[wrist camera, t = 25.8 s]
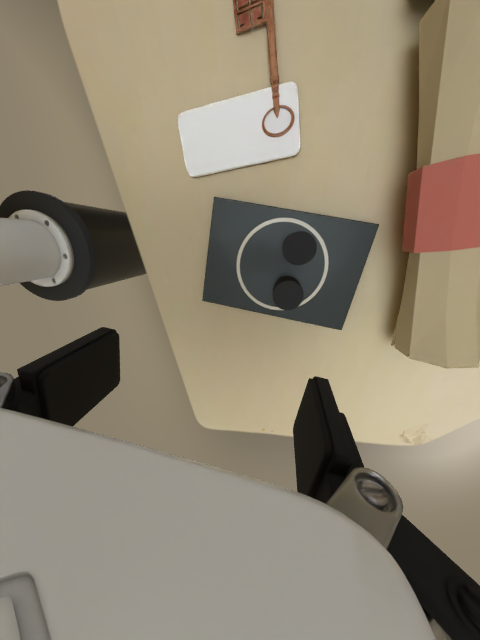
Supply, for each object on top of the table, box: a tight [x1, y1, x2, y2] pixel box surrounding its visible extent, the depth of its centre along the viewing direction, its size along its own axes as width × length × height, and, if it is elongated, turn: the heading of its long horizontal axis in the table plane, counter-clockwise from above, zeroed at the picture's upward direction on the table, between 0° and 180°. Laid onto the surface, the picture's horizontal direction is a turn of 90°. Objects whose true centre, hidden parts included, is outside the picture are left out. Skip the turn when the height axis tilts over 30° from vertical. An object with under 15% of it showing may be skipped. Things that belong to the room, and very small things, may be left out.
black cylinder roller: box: [273, 276, 304, 310], centre depth 32 cm, size 4×4×4 cm
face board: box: [202, 197, 379, 330], centre depth 34 cm, size 22×15×1 cm
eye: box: [283, 231, 317, 265], centre depth 30 cm, size 4×4×4 cm
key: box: [233, 0, 294, 137], centre depth 26 cm, size 6×1×15 cm
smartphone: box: [178, 82, 300, 177], centre depth 29 cm, size 7×1×15 cm
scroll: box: [391, 0, 480, 368], centre depth 25 cm, size 11×34×10 cm, turn 7°
